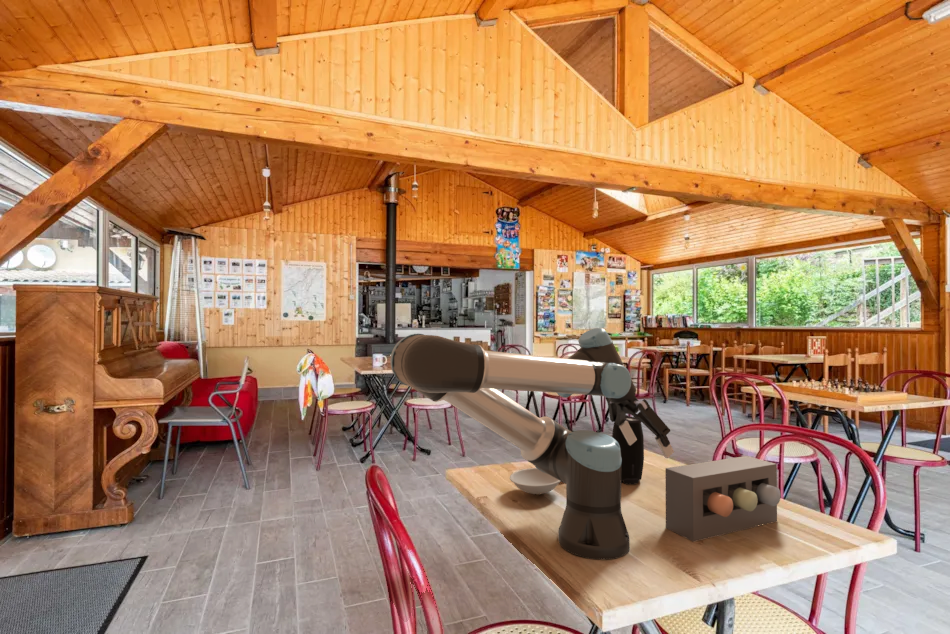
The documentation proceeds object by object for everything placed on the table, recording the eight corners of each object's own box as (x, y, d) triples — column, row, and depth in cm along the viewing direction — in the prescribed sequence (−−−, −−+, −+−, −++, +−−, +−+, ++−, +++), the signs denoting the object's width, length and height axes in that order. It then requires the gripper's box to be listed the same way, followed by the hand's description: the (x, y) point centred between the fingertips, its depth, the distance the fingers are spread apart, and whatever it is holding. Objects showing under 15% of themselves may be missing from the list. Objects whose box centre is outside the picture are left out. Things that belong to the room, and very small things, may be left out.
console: (693, 541, 106) (693, 477, 107) (665, 527, 114) (665, 468, 114) (777, 521, 118) (776, 463, 118) (747, 510, 125) (746, 455, 125)
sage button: (744, 512, 108) (744, 493, 108) (721, 503, 114) (721, 484, 114) (757, 509, 110) (757, 490, 110) (734, 501, 115) (734, 482, 116)
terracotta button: (719, 518, 105) (719, 498, 105) (696, 508, 110) (696, 489, 110) (733, 515, 107) (733, 495, 107) (710, 505, 112) (710, 486, 112)
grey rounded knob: (768, 507, 111) (768, 488, 111) (744, 498, 117) (744, 480, 117) (780, 504, 113) (780, 485, 113) (756, 496, 119) (756, 478, 119)
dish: (530, 481, 148) (530, 464, 148) (573, 490, 139) (573, 473, 139) (498, 497, 134) (498, 479, 134) (543, 509, 125) (543, 489, 125)
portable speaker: (613, 475, 154) (613, 413, 155) (644, 478, 151) (643, 415, 151) (611, 483, 146) (611, 418, 147) (643, 486, 143) (643, 420, 143)
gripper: (661, 380, 115) (697, 451, 119) (597, 370, 138) (628, 429, 142) (640, 398, 112) (677, 470, 116) (578, 385, 135) (610, 445, 139)
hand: (650, 448), depth 129 cm, fingers open, 13 cm apart
